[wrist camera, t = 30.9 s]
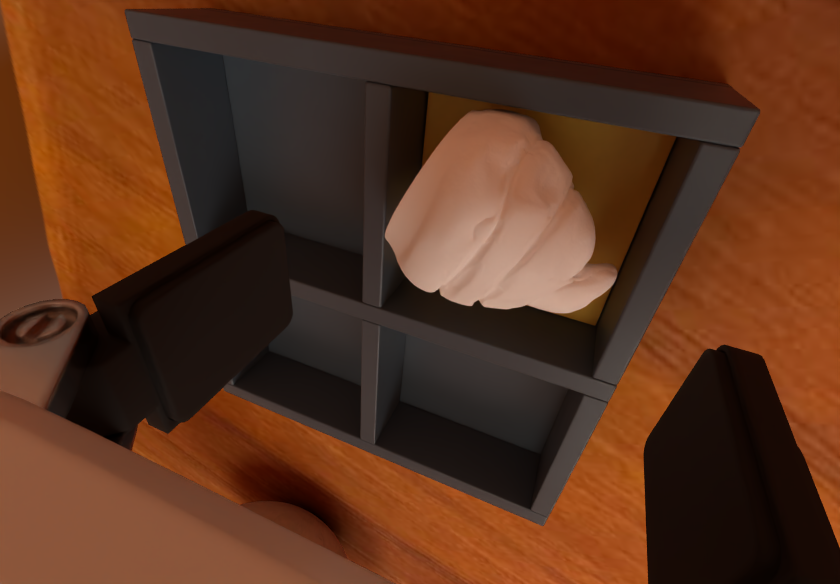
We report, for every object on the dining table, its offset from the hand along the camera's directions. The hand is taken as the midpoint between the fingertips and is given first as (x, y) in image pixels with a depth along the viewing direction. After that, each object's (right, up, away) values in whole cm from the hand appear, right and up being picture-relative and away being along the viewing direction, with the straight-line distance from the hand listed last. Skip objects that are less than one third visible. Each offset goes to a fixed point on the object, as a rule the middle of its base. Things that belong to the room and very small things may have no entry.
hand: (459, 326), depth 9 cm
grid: (-1, +2, +9) cm, 10 cm away
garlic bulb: (+3, +4, +5) cm, 7 cm away
